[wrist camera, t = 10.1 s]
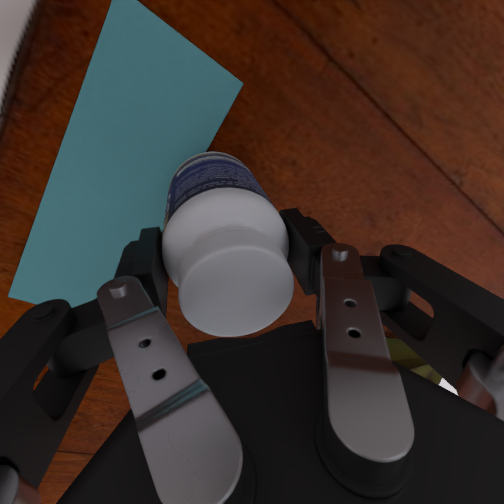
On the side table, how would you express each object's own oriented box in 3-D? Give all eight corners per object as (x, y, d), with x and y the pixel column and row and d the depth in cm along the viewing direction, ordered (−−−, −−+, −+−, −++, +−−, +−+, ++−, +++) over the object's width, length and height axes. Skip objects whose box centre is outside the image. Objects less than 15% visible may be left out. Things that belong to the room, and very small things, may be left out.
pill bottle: (150, 170, 16) (119, 267, 8) (238, 135, 16) (294, 196, 8) (191, 245, 19) (198, 369, 11) (265, 215, 19) (327, 318, 11)
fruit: (342, 314, 28) (380, 371, 23) (424, 329, 33) (472, 380, 27) (292, 386, 33) (314, 447, 28) (369, 390, 38) (402, 444, 32)
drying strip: (118, -14, 13) (117, -16, 13) (242, 83, 16) (243, 83, 16) (9, 294, 20) (7, 296, 20) (111, 321, 23) (110, 324, 23)
